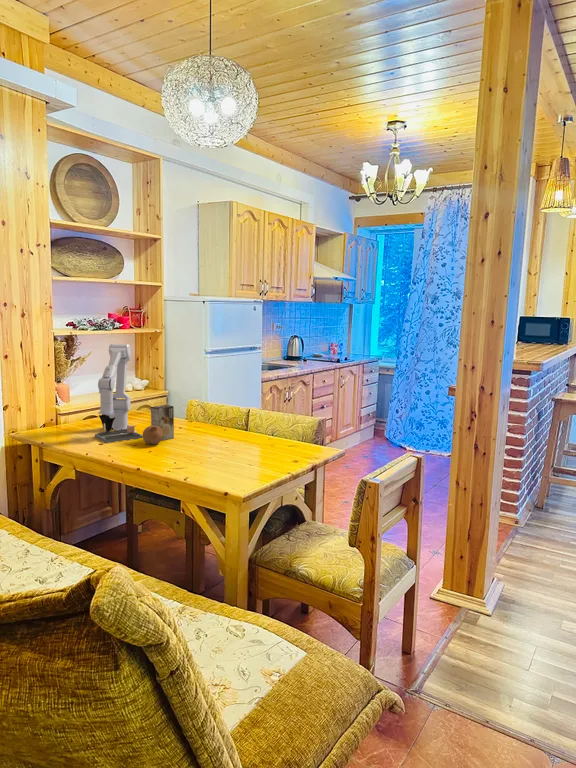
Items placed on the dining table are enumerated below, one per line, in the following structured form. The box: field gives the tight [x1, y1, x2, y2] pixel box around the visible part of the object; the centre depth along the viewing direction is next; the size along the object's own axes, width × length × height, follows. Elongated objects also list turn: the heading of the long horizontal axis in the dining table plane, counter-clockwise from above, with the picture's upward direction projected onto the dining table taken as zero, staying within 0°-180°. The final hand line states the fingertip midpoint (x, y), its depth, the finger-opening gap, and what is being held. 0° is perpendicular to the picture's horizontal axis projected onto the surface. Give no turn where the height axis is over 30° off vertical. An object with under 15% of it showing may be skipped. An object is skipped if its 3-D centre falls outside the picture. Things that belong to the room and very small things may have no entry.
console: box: [94, 429, 143, 444], centre depth 260 cm, size 15×18×3 cm
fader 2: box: [127, 424, 135, 435], centre depth 258 cm, size 3×2×5 cm
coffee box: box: [150, 404, 175, 441], centre depth 260 cm, size 9×6×16 cm
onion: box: [142, 425, 163, 446], centre depth 250 cm, size 10×9×10 cm
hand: (107, 430), depth 261 cm, fingers closed on fader 1, 3 cm apart
